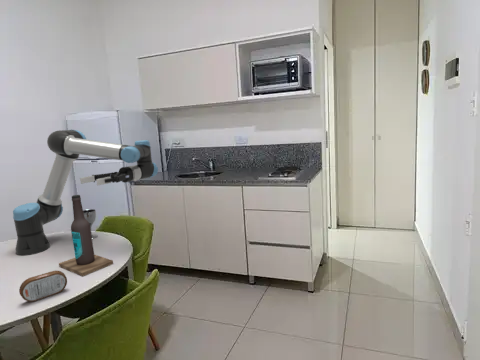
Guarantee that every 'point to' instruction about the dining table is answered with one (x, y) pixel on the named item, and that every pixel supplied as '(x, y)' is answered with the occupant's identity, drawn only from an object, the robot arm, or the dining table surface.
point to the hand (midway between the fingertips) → (88, 181)
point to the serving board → (88, 268)
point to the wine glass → (90, 218)
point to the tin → (43, 286)
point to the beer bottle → (81, 234)
